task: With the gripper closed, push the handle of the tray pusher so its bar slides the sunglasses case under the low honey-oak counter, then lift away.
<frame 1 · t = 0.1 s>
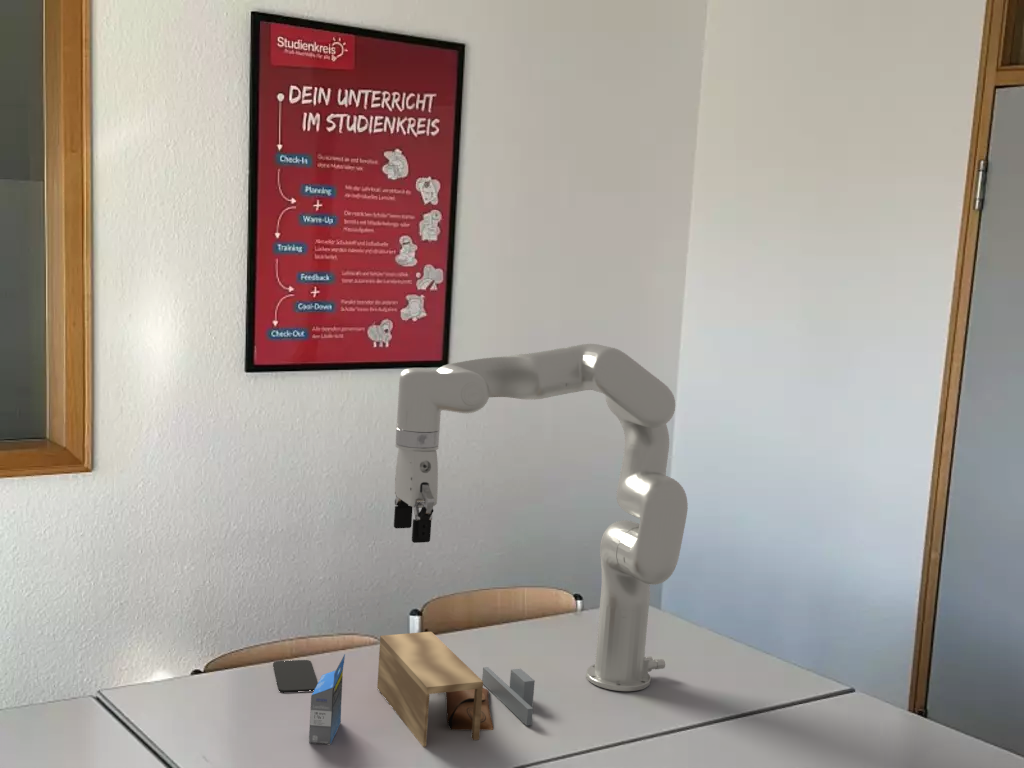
hand: (411, 534, 196), 31 cm above the table, tool pointing down, fingers open, 9 cm apart
oak counter: (425, 713, 197), on the table
sunglasses case: (468, 712, 200), on the table
phone: (295, 679, 209), on the table
blue cardboard box: (324, 734, 186), on the table
tray pusher: (515, 688, 204), point 3 cm above the table, slide at 0.0 cm
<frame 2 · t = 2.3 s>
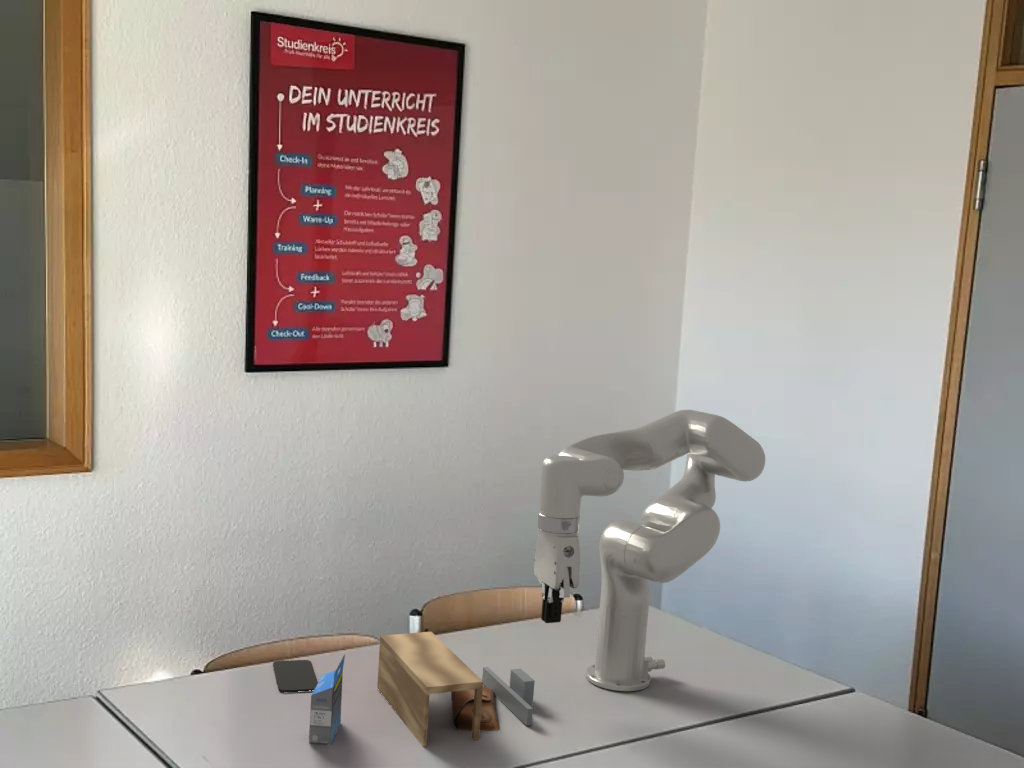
hand: (550, 620, 205), 15 cm above the table, tool pointing down, fingers closed
sunglasses case: (474, 712, 200), on the table
everything else where it was.
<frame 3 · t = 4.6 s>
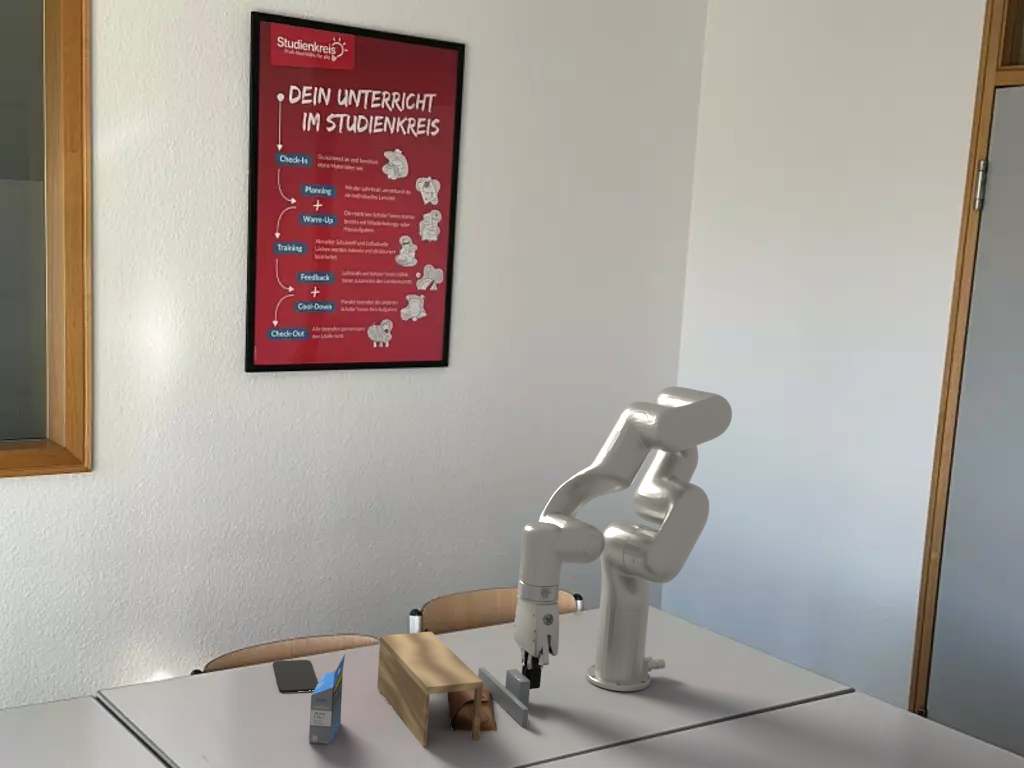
hand: (530, 687, 205), 3 cm above the table, tool pointing down, fingers closed
tray pusher: (511, 689, 203), point 3 cm above the table, slide at 0.9 cm, touching gripper
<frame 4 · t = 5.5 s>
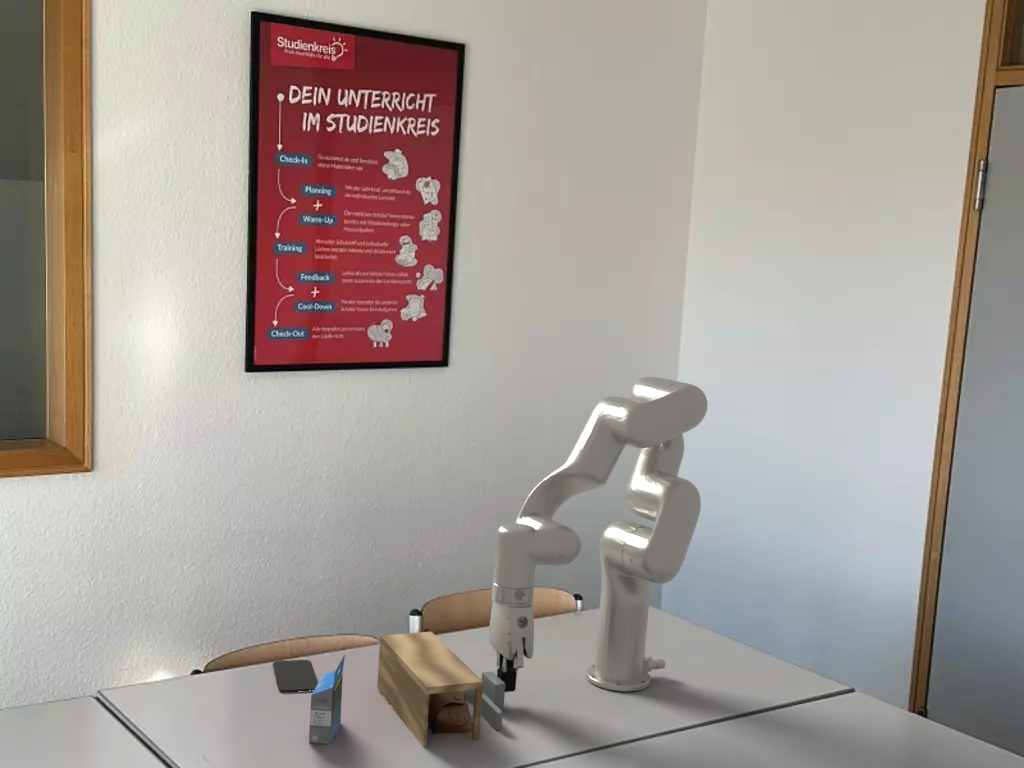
hand: (505, 690, 203), 3 cm above the table, tool pointing down, fingers closed
sunglasses case: (447, 716, 198), on the table
tray pusher: (486, 691, 201), point 3 cm above the table, slide at 5.8 cm, touching gripper
everything else where it was.
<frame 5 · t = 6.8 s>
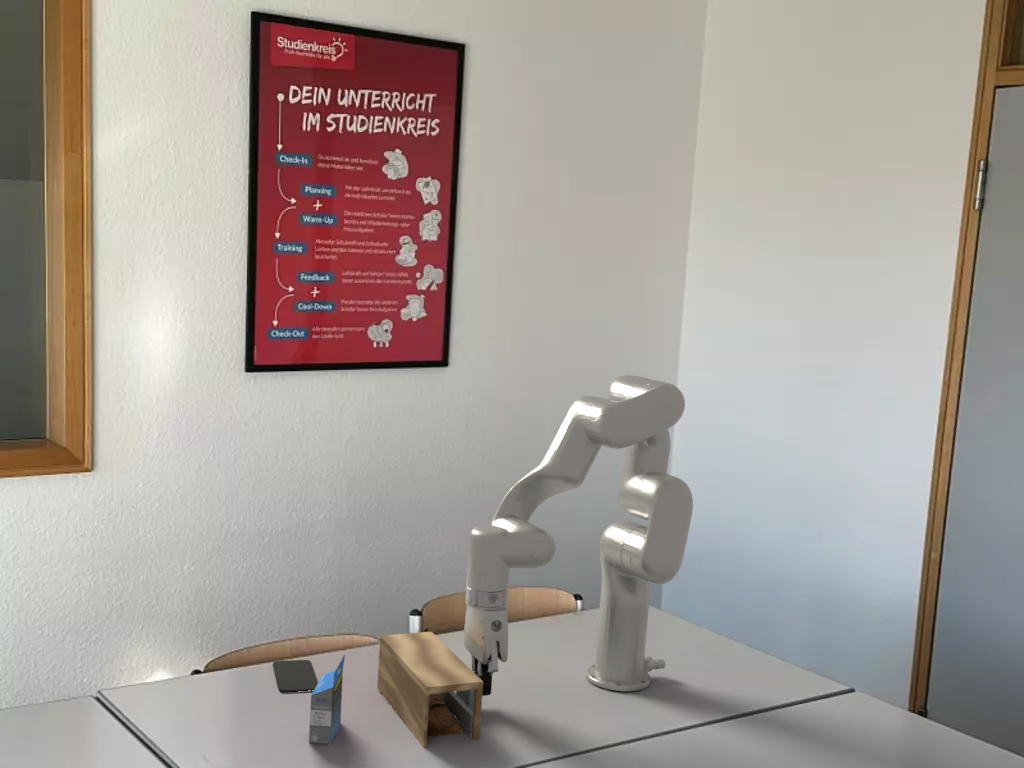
hand: (481, 693, 201), 2 cm above the table, tool pointing down, fingers closed
sunglasses case: (427, 718, 196), on the table
tray pusher: (461, 694, 199), point 3 cm above the table, slide at 10.6 cm, touching gripper
everything else where it was.
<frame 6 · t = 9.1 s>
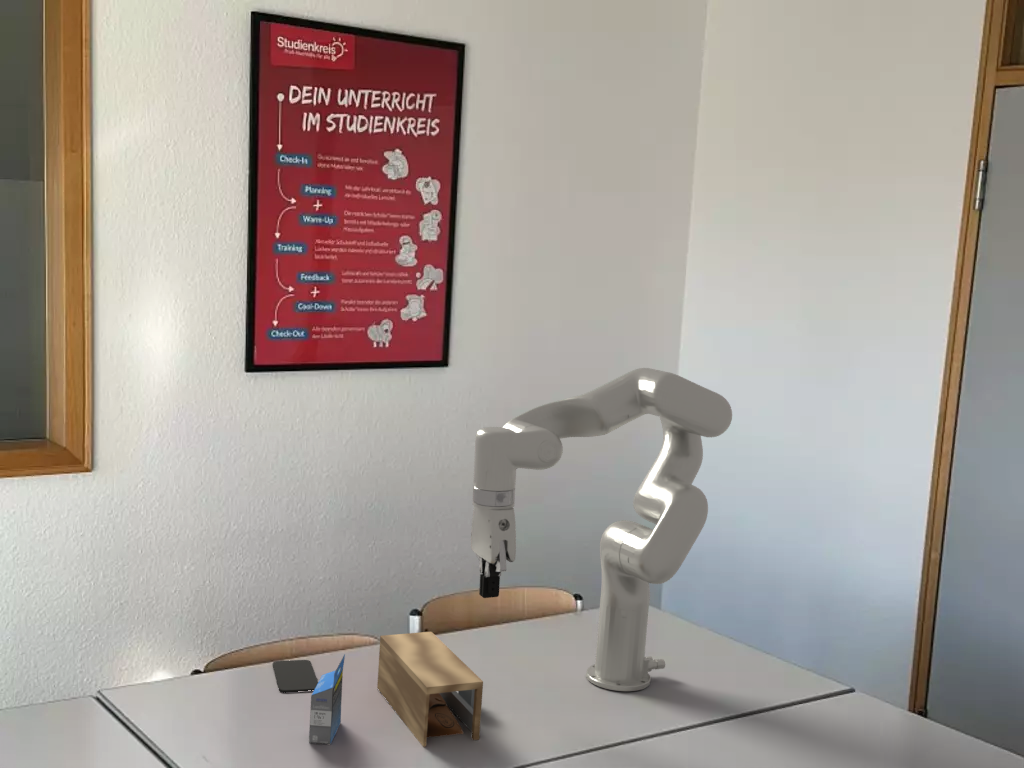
hand: (489, 595, 201), 20 cm above the table, tool pointing down, fingers closed
sunglasses case: (428, 718, 196), on the table, touching tray pusher
tray pusher: (463, 694, 199), point 3 cm above the table, slide at 10.2 cm, touching sunglasses case
everything else where it was.
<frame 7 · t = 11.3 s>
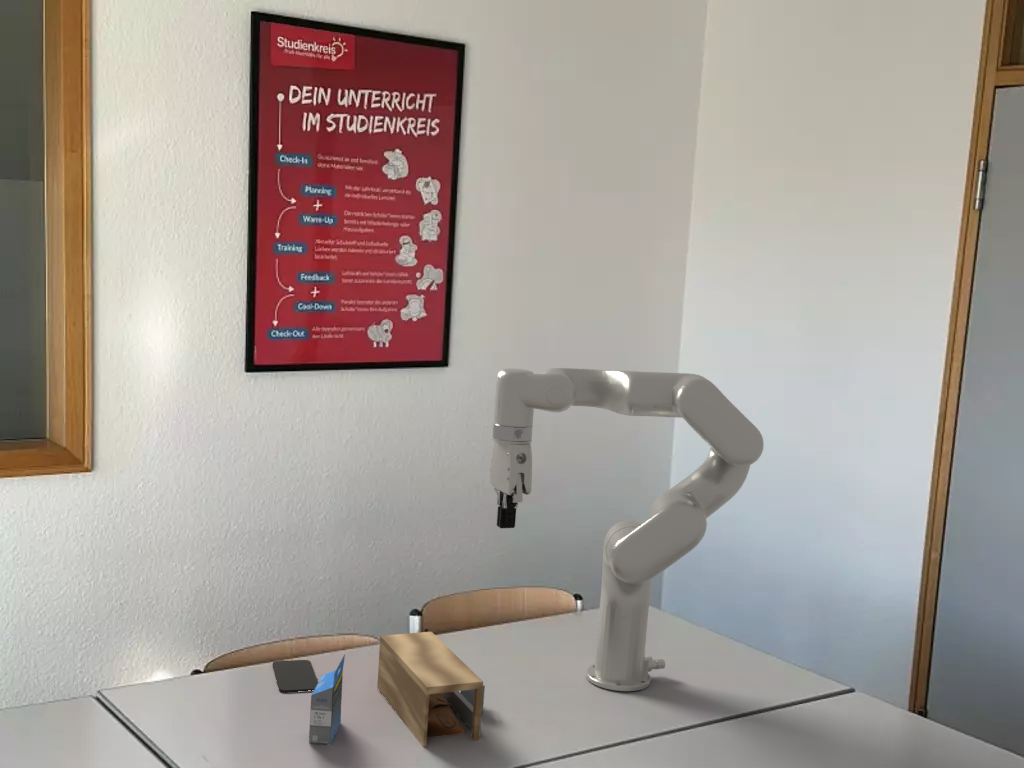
hand: (505, 526, 215), 29 cm above the table, tool pointing down, fingers closed
sunglasses case: (430, 718, 196), on the table
tray pusher: (465, 694, 200), point 3 cm above the table, slide at 9.8 cm
everything else where it was.
at the end: sunglasses case 0.8 cm off-centre on the oak counter, point -0.7 cm above the oak counter's base; tray pusher slide at 9.8 cm; sunglasses case tilted 0° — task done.
